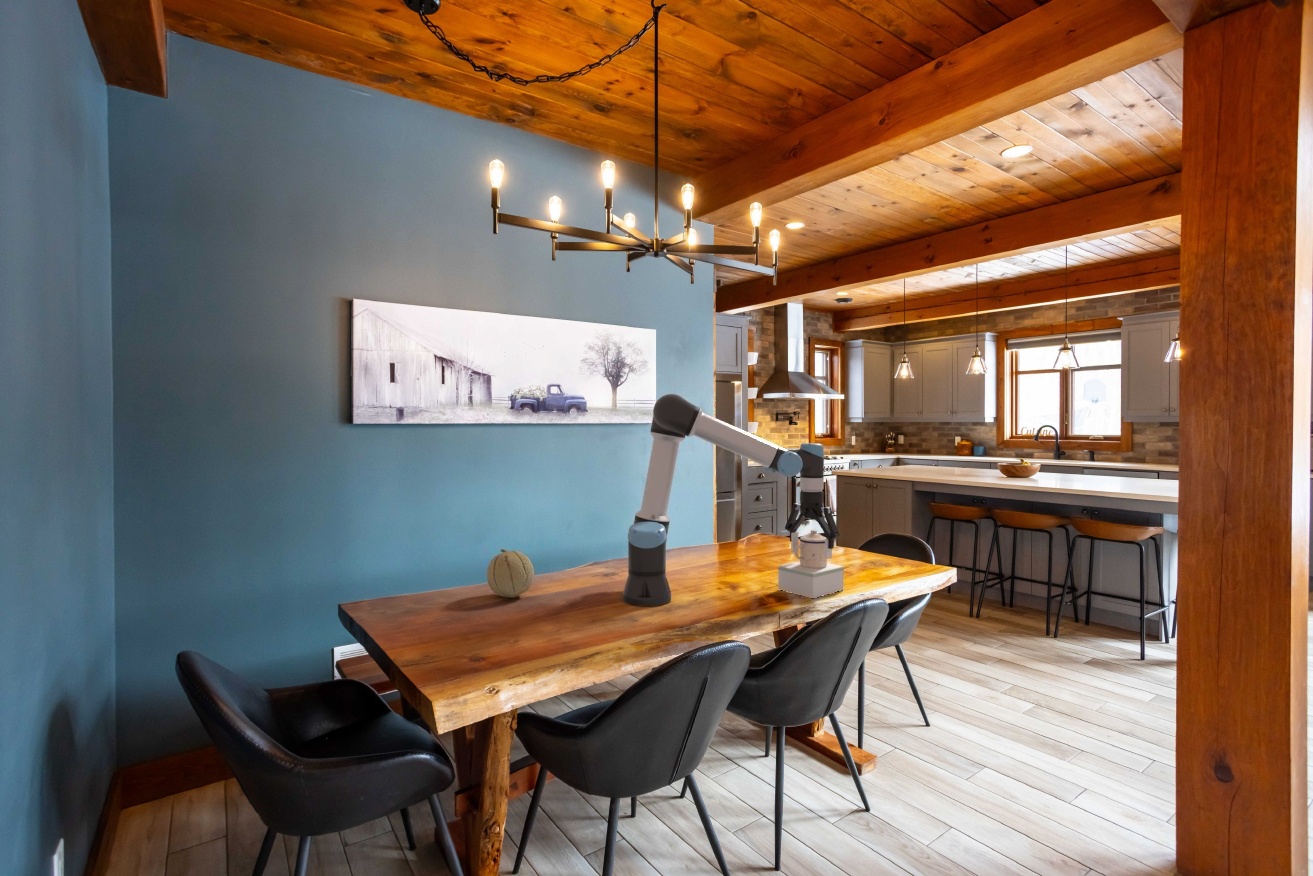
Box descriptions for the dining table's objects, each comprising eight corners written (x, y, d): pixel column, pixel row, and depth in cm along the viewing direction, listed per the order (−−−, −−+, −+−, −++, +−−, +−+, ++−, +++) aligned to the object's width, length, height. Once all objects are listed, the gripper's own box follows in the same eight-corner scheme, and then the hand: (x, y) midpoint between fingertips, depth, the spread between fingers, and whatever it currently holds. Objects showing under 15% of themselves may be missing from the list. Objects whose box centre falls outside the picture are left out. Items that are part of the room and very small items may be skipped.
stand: (777, 590, 218) (778, 565, 218) (808, 582, 228) (808, 559, 228) (813, 599, 207) (813, 573, 207) (843, 590, 217) (844, 566, 217)
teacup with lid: (815, 561, 224) (816, 527, 224) (833, 567, 216) (834, 531, 216) (786, 564, 219) (786, 529, 219) (803, 570, 211) (803, 534, 211)
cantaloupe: (529, 603, 202) (529, 554, 201) (481, 603, 202) (481, 554, 201) (538, 590, 217) (538, 545, 216) (493, 590, 216) (492, 544, 216)
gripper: (851, 493, 210) (850, 559, 210) (789, 486, 229) (788, 547, 229) (837, 494, 205) (836, 563, 205) (774, 487, 224) (774, 550, 225)
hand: (811, 555), depth 217 cm, fingers open, 13 cm apart
